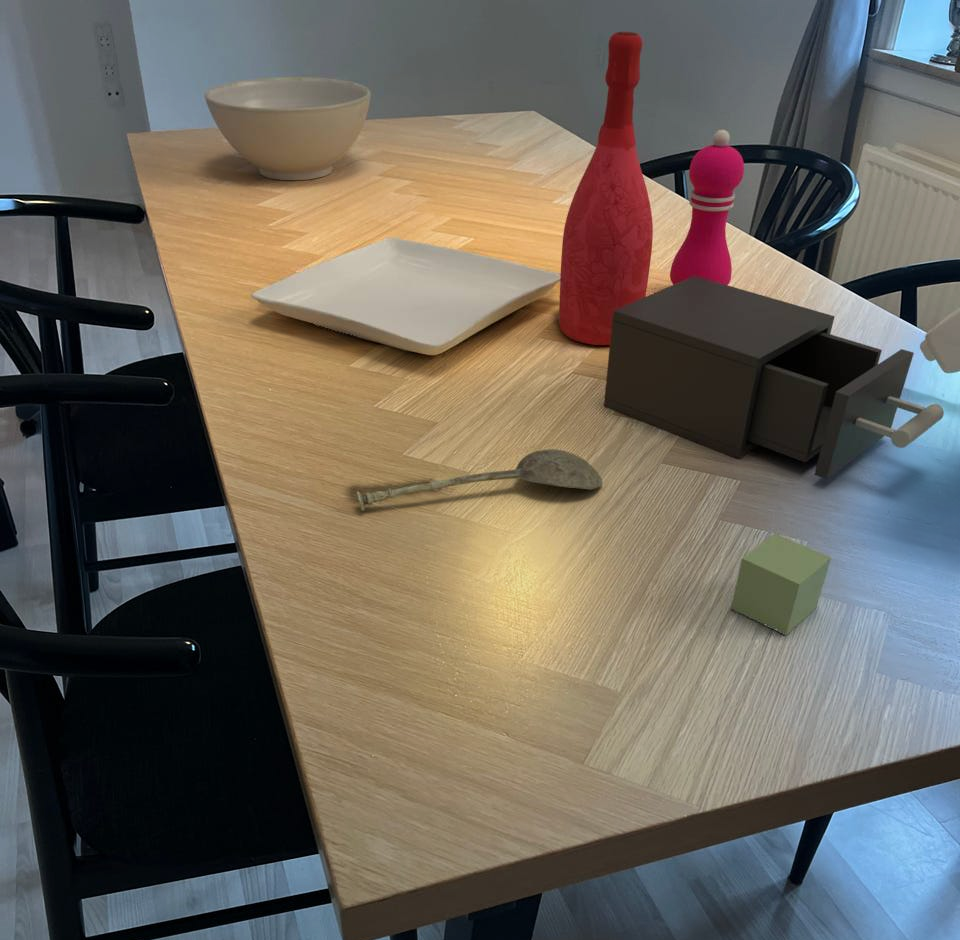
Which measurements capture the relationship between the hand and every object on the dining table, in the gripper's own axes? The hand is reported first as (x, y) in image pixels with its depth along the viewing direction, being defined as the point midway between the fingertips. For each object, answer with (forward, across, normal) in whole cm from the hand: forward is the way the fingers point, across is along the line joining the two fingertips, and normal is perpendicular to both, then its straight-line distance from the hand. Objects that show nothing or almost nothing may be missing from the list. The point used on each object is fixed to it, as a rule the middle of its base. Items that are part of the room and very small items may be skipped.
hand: (930, 348), depth 81 cm
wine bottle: (+36, -8, -20) cm, 42 cm away
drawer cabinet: (+22, 0, -6) cm, 23 cm away
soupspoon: (+26, +28, -9) cm, 39 cm away
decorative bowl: (+93, -28, -77) cm, 124 cm away
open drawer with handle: (+13, 0, +2) cm, 14 cm away
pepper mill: (+34, -22, -16) cm, 43 cm away
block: (+6, +26, +10) cm, 28 cm away
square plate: (+50, +3, -34) cm, 61 cm away
